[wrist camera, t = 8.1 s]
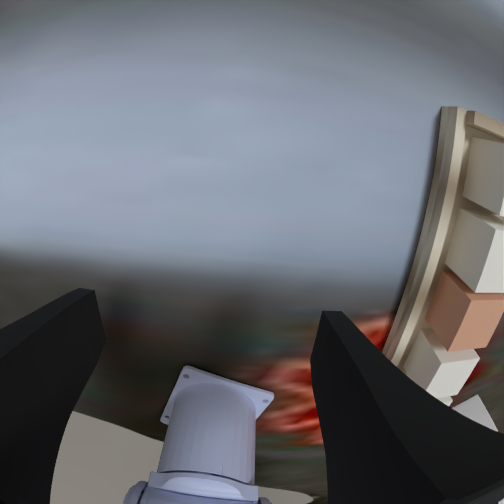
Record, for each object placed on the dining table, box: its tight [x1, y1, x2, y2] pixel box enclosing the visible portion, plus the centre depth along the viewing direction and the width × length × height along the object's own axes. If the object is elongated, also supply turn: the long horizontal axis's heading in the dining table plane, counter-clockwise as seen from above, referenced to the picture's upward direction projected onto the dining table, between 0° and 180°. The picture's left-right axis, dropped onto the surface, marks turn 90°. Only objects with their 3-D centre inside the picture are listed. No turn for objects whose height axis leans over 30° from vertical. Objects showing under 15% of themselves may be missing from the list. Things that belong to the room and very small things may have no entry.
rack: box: [382, 106, 504, 373], centre depth 19 cm, size 26×8×3 cm, turn 176°
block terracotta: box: [425, 270, 504, 352], centre depth 17 cm, size 4×4×4 cm
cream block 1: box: [403, 329, 480, 398], centre depth 19 cm, size 4×4×4 cm
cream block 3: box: [445, 208, 504, 293], centre depth 15 cm, size 4×4×4 cm
